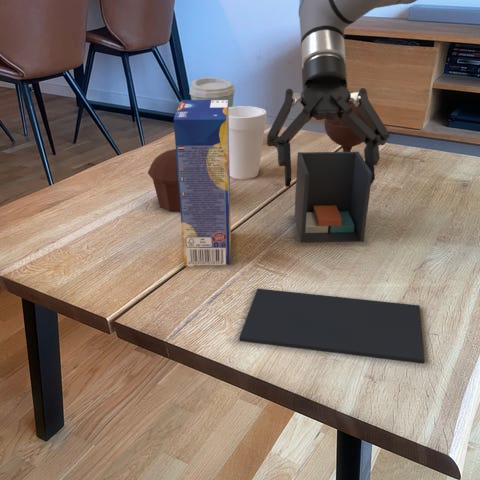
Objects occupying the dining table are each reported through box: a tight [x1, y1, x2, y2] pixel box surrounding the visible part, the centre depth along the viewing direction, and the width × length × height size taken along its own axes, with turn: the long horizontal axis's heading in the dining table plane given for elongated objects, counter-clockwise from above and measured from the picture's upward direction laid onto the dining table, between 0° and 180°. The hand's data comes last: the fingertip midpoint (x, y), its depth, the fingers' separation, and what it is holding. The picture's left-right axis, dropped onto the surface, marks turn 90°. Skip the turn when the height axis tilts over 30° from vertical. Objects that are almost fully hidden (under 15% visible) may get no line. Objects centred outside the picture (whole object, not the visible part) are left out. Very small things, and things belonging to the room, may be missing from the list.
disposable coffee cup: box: [189, 76, 236, 108], centre depth 131 cm, size 11×11×15 cm
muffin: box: [147, 148, 181, 213], centre depth 102 cm, size 12×11×10 cm
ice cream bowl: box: [323, 91, 369, 152], centre depth 119 cm, size 11×11×15 cm
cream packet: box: [305, 212, 328, 233], centre depth 95 cm, size 6×4×1 cm, turn 1°
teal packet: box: [328, 212, 355, 233], centre depth 95 cm, size 6×4×1 cm, turn 1°
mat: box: [238, 288, 426, 364], centre depth 71 cm, size 22×12×1 cm, turn 78°
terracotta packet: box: [313, 205, 342, 226], centre depth 94 cm, size 6×4×1 cm, turn 1°
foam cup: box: [228, 105, 268, 180], centre depth 115 cm, size 10×9×13 cm
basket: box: [294, 151, 372, 244], centre depth 91 cm, size 11×10×12 cm
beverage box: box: [173, 99, 232, 268], centre depth 83 cm, size 7×11×22 cm, turn 0°
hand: (329, 183), depth 91 cm, fingers open, 13 cm apart
